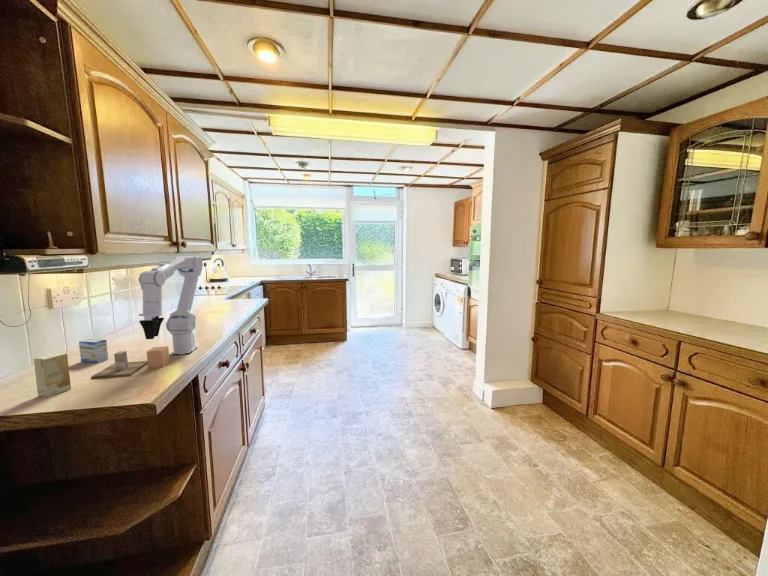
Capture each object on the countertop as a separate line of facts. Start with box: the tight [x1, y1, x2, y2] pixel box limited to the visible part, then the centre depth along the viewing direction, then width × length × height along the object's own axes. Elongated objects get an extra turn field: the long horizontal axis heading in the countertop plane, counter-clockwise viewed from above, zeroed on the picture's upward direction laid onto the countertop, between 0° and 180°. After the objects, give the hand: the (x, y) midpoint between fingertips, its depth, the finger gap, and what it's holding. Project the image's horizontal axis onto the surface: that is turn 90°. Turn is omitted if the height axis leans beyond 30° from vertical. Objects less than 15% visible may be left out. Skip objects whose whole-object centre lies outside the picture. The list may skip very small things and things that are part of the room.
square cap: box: [146, 345, 170, 369], centre depth 120 cm, size 5×5×7 cm
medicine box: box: [78, 338, 109, 364], centre depth 124 cm, size 8×4×9 cm, turn 84°
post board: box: [90, 350, 148, 380], centre depth 115 cm, size 13×12×7 cm
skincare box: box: [33, 352, 72, 398], centre depth 97 cm, size 6×4×12 cm
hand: (152, 337), depth 116 cm, fingers open, 7 cm apart
